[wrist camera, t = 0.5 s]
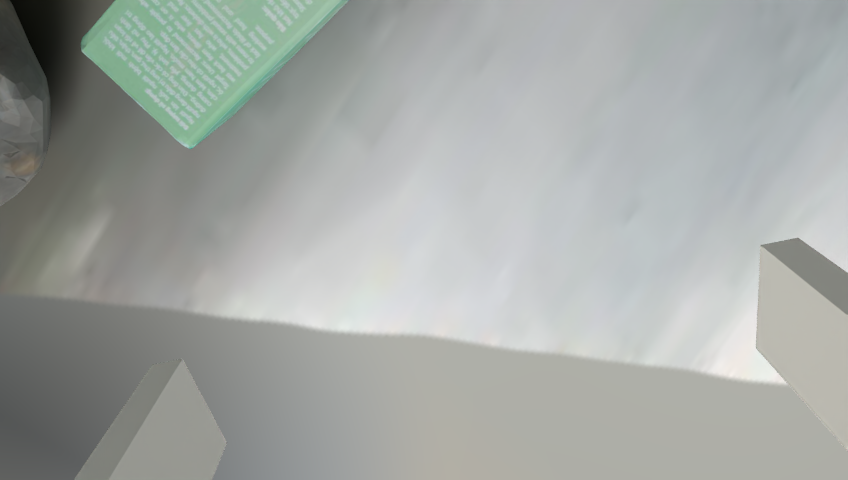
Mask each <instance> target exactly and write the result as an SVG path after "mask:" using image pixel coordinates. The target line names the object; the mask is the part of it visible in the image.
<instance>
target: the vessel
mask: <svg viewBox="0 0 848 480" xmlns="http://www.w3.org/2000/svg"><path fill="white" fill-rule="evenodd" d="M50 134H51V122H50V95H49V89H48V84H47V78H46V76H45V74H44V72H43V70H42V68H41V66H40V64H39V62H38V60H37V58H36V56H35V54H34V52H33V50H32V48H31V46H30V44H29V41H28V39H27V37H26V34H25V32H24V30H23V27H22V25H21V23H20V21H19V18H18V16H17V14H16V11H15V9H14V7H13V5H12V3H11V1H10V0H0V206H1V205H3V204H4V203H6V202H7V201H9V200H10V199H12V198H13V197H15V196H16V195H17V194H18V193H19V192H20V191H21V190H22V189H23V188H24V187H25V186H26V185H27V184H28V183H29V182H30V181H31V179H32V178H33V177H34V176H35V175H36V174H37V173H38V172H39V170H40V169H41V168H42V165H43V162H44V159H45V156H46V153H47V150H48V145H49V139H50Z"/></svg>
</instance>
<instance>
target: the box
mask: <svg viewBox="0 0 848 480" xmlns="http://www.w3.org/2000/svg"><path fill="white" fill-rule="evenodd" d="M348 1H349V0H115V1H114V2H113V3H112V5H111V6H110V7H109V8H108V9H107V11H106V12H105V13H104V14H103V15H102V16H101V18H100V19H99V20H98V21H97V22H96V23H95V25H94V26H93V27H92V28H91V29H90V30H89V31H88V32H87V33H86V34H85V35H84V36H83V37H82V41H81V51H82V52H83V53H84V54H85V55H86V56H87V57H89V58H90V59H91V60H92V61H93V62H94V63H95V64H96V65H97V66H99V67H100V68H101V69H102V70H103V71H104V72H105V73H106V74H107V75H108V76H109V77H110V78H111V79H112V80H113V81H115V82H116V83H117V84H118V85H119V86H120V87H121V88H122V89H123V90H124V91H125V92H126V93H127V94H128V95H129V96H131V97H132V98H133V99H134V100H135V101H136V102H137V103H138V104H139V105H140V106H141V107H142V108H143V109H145V110H146V111H147V112H148V113H149V114H150V115H151V116H152V117H153V118H154V119H155V120H156V121H158V122H159V123H160V124H161V125H162V126H163V127H164V128H165V129H166V130H167V131H168V132H169V133H170V134H171V135H172V136H173V137H174V138H175V139H176V140H177V141H178V142H179V143H181V144H182V145H183V146H185V147H188V148H190V149H192V148H193V147H194V146H196V145H197V144H198V143H200V142H201V141H202V140H204V139H205V138H206V137H207V136H209V135H210V134H211V133H212V132H213V131H215V130H216V129H217V128H218V127H220V126H221V125H222V124H223V123H225V122H226V121H227V120H228V119H230V118H231V117H232V116H233V115H234V114H235V113H236V112H237V111H238V110H239V109H240V108H241V107H242V106H243V105H244V104H245V103H246V102H247V101H248V100H250V99H251V98H252V97H253V96H254V95H255V94H256V93H257V92H258V91H259V90H260V89H261V88H262V87H263V86H264V85H265V84H266V83H267V82H268V81H269V80H270V79H271V78H272V77H273V76H274V75H275V74H276V73H277V72H278V71H279V70H280V69H281V68H282V67H283V66H284V65H285V64H286V63H287V62H288V61H289V60H290V59H291V58H292V57H293V56H294V55H295V54H296V53H297V52H298V51H299V50H300V49H301V48H302V47H303V46H304V45H305V44H306V43H307V42H308V41H309V40H310V39H311V38H312V37H313V36H314V35H315V34H316V33H317V32H318V31H319V30H320V29H321V28H322V27H323V26H324V25H325V24H326V23H327V22H328V21H329V20H330V19H331V18H332V17H333V16H334V15H335V14H336V13H337V12H338V11H339V10H340V9H341V8H342V7H343V6H344V5H345V4H346V3H347V2H348Z"/></svg>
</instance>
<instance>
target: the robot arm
mask: <svg viewBox="0 0 848 480" xmlns="http://www.w3.org/2000/svg"><path fill="white" fill-rule="evenodd" d="M756 349H757V350H758V351H759V352H760V353H761V354H762V355H763V357H764V358H765V359H766V360H767V361H768V362H769V363H770V364H771V366H772V367H773V368H774V369H775V370H776V371H777V372H778V373H779V375H780V376H781V377H782V378H783V379H784V380H785V381H786V382H787V384H788V385H789V386H790V387H791V388H792V389H793V390H794V391H795V392H796V394H797V395H798V396H799V397H800V398H801V399H802V400H803V402H804V403H805V404H806V405H807V406H808V407H809V408H810V409H811V411H812V412H813V413H814V414H815V415H816V416H817V417H818V418H819V419H820V421H821V422H822V423H823V424H824V425H825V426H826V427H827V428H828V430H829V431H830V432H831V433H832V434H833V435H834V436H835V438H836V439H837V440H838V441H839V442H840V443H841V444H842V445H843V447H844V448H845V449H846V450H847V451H848V273H847V272H845V271H844V270H843V269H841V268H840V267H838V266H837V265H836V264H834V263H833V262H831V261H830V260H829V259H827V258H826V257H824V256H823V255H821V254H820V253H819V252H817V251H816V250H814V249H813V248H812V247H810V246H809V245H807V244H806V243H805V242H803V241H802V240H800V239H799V238H795V239H790V240H784V241H779V242H774V243H769V244H764V245H761V246H760V267H759V289H758V311H757V333H756ZM226 444H227V442H226V440H225V439H224V437H223V435H222V433H221V431H220V429H219V427H218V425H217V423H216V422H215V420H214V418H213V416H212V414H211V412H210V410H209V408H208V406H207V404H206V403H205V401H204V399H203V397H202V395H201V393H200V391H199V389H198V387H197V385H196V383H195V382H194V380H193V378H192V376H191V374H190V372H189V370H188V368H187V367H186V364H185V363H184V361H183V359H179V360H173V361H168V362H163V363H159V364H153V365H152V366H151V367H150V369H149V370H148V371H147V373H146V374H145V376H144V377H143V379H142V380H141V382H140V383H139V385H138V386H137V388H136V389H135V391H134V392H133V394H132V395H131V397H130V398H129V399H128V401H127V403H126V404H125V405H124V407H123V408H122V410H121V412H120V413H119V414H118V416H117V417H116V419H115V420H114V422H113V423H112V425H111V426H110V428H109V429H108V431H107V432H106V433H105V435H104V437H103V438H102V439H101V441H100V442H99V444H98V445H97V447H96V448H95V450H94V451H93V453H92V454H91V456H90V457H89V459H88V460H87V461H86V463H85V464H84V466H83V467H82V469H81V471H80V472H79V473H78V475H77V476H76V478H75V479H74V480H212V478H213V476H214V473H215V471H216V469H217V466H218V463H219V461H220V459H221V456H222V454H223V451H224V449H225V446H226Z"/></svg>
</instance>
